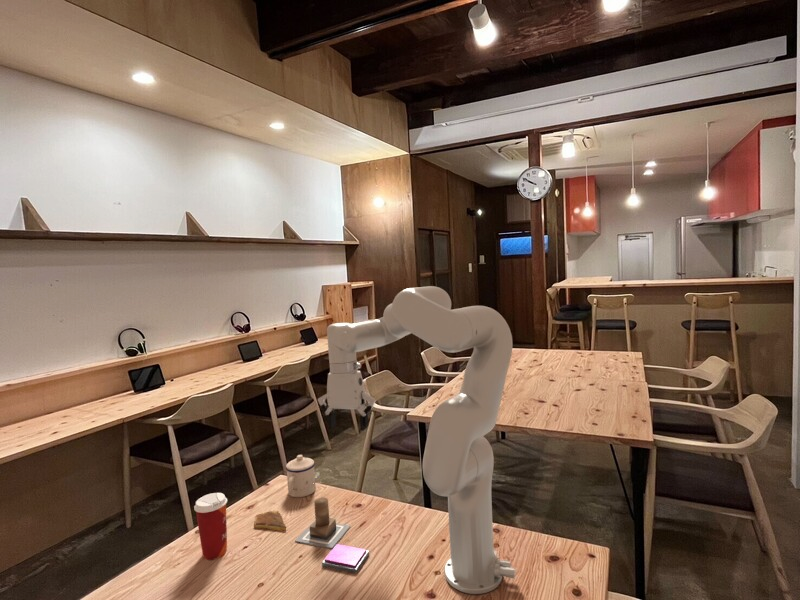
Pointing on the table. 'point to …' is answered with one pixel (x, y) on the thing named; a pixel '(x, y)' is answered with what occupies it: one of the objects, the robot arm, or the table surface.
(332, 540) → the marked card
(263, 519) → the shard
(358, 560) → the ink pad
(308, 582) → the table surface
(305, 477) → the teacup with lid
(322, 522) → the stamp
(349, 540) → the table surface
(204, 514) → the paper cup
